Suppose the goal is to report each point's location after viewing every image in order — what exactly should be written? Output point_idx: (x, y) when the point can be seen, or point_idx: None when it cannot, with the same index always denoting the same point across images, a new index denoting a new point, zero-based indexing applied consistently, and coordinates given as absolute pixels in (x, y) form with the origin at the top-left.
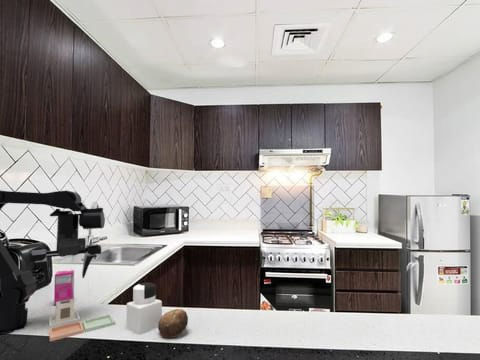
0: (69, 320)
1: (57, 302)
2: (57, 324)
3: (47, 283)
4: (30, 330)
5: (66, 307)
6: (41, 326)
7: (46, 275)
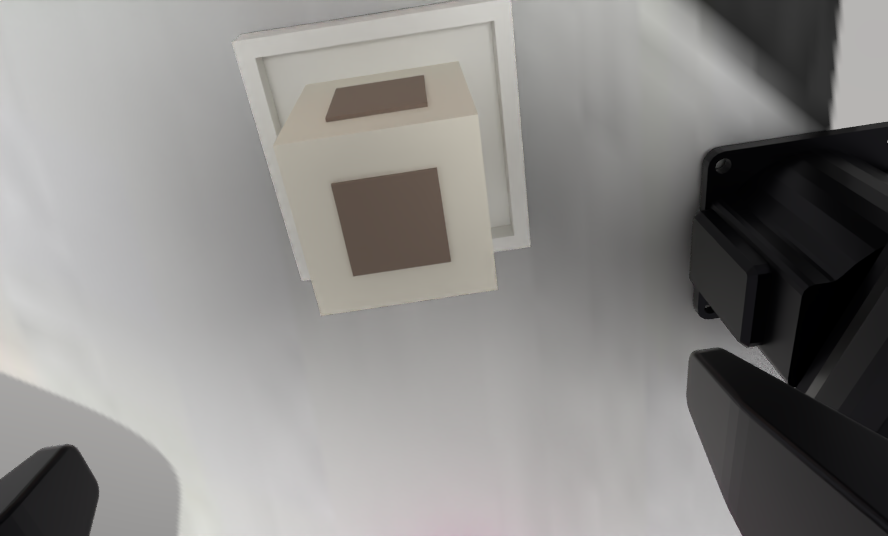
0: (334, 43)
1: (481, 261)
2: (440, 9)
3: (715, 348)
4: (654, 94)
5: (366, 119)
6: (575, 146)
7: (857, 451)
